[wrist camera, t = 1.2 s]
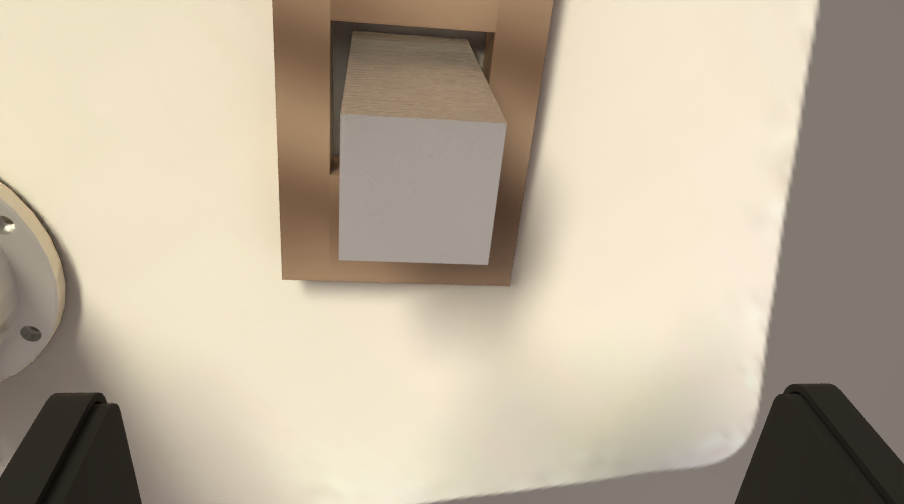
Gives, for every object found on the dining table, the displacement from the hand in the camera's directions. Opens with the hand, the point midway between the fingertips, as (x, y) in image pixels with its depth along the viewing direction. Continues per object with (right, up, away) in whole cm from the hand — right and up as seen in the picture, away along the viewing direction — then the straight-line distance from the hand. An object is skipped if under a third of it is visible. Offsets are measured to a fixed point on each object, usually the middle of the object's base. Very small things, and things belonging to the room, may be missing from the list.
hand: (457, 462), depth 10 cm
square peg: (-2, +10, +18) cm, 21 cm away
